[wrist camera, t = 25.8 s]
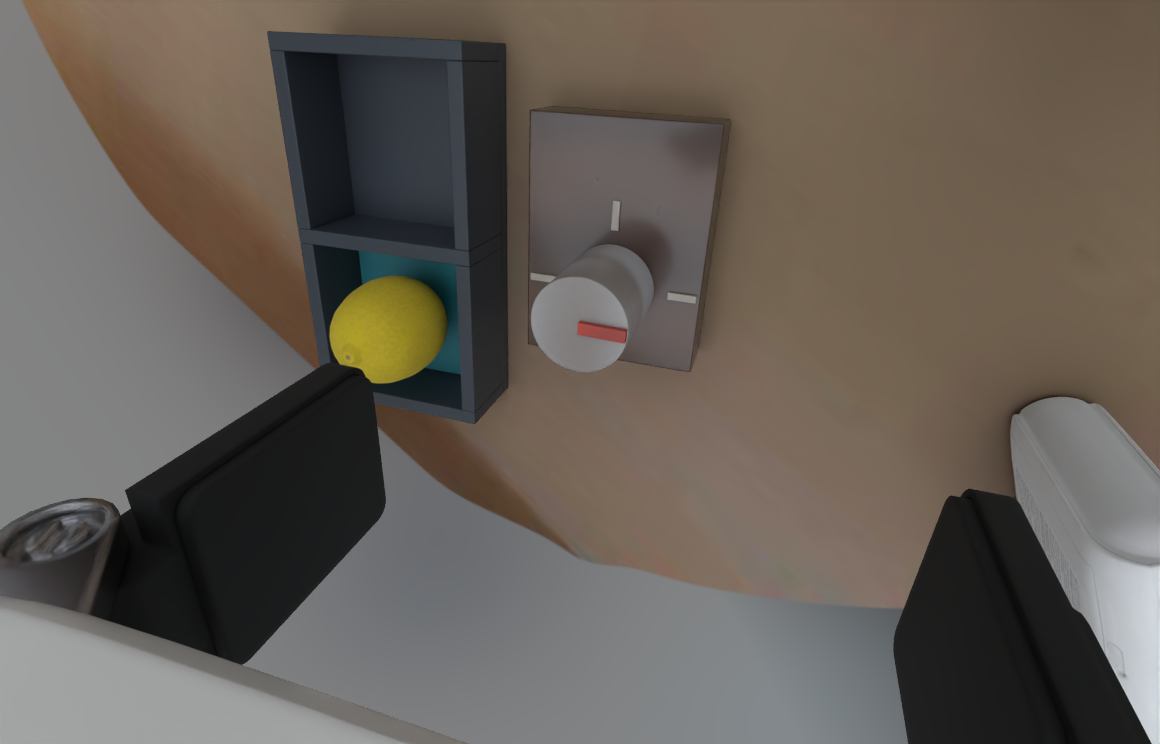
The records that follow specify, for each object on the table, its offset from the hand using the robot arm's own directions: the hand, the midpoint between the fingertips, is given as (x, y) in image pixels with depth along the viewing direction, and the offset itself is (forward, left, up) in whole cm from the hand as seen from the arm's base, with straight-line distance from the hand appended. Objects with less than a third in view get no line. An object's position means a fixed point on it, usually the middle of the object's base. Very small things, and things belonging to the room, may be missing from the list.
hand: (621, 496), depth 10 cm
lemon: (+7, -17, -24) cm, 30 cm away
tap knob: (+4, -5, -21) cm, 22 cm away
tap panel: (+2, -6, -24) cm, 25 cm away
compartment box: (+3, -18, -24) cm, 30 cm away
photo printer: (+12, +18, -24) cm, 33 cm away
